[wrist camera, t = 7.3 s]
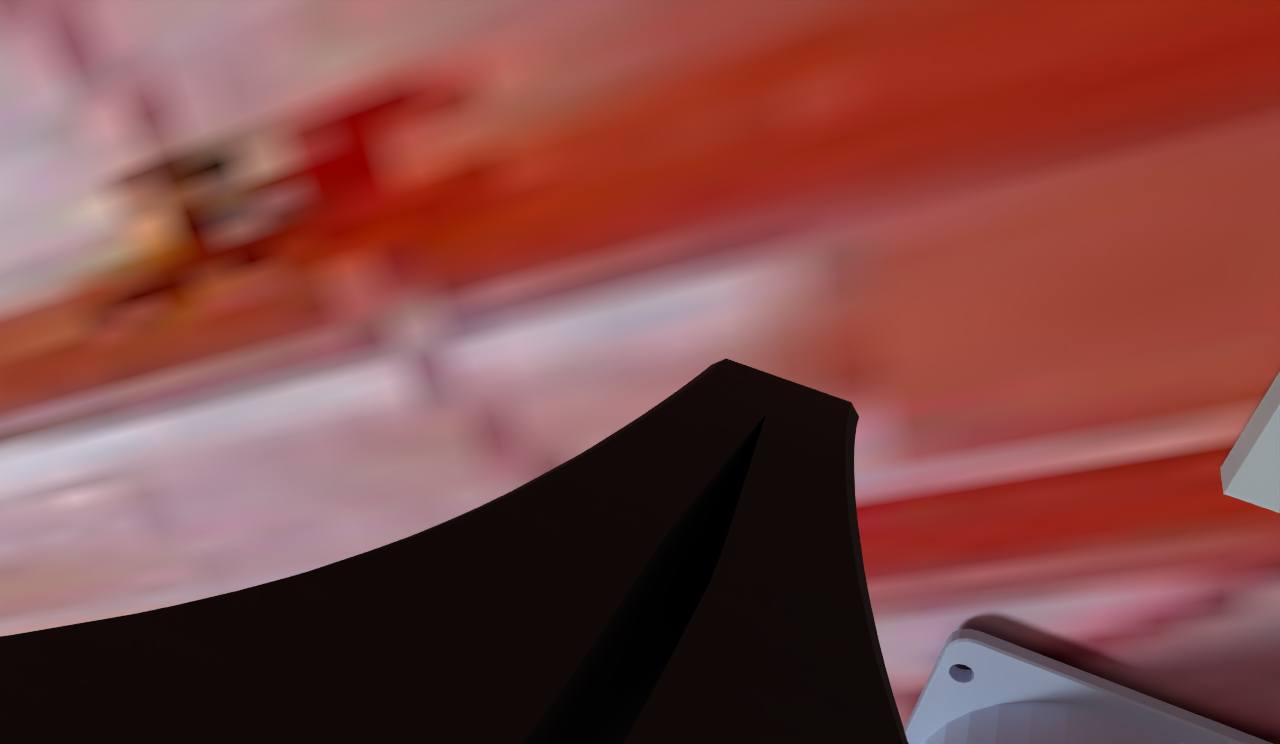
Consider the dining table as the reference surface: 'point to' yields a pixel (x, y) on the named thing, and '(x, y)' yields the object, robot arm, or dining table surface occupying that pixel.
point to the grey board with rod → (1257, 456)
